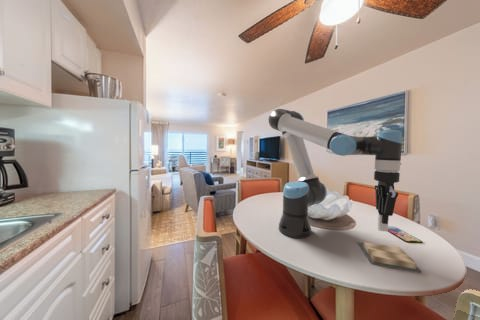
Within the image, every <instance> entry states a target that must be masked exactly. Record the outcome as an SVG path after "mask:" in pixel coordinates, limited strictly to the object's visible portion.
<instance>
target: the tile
mask: <svg viewBox="0 0 480 320" xmlns="http://www.w3.org/2000/svg"><path fill="white" fill-rule="evenodd" d="M363 243H364V246H363V247H364V248H365V250H366V251H367V253H368V254H369V256H370V257H371V259H372V260H373V261H374V262H377V263H383V264H389V265H394V266H400V267H406V268H412V269H416V267H418V264H417V262H416V261H415V260H414V259H413V258H412V257H411V256H410V255H408V254H407V253H406V252H405V250H403V249H402V248H401V247H399V246H393V245H387V244H379V243H372V242H367V241H366V242H365V241H364V242H363Z"/></svg>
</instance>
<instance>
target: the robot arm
mask: <svg viewBox="0 0 480 320" xmlns="http://www.w3.org/2000/svg"><path fill="white" fill-rule="evenodd" d="M268 124H269V126H270V127H271V128H272V129H273V130H276V131H279V132H281V134H282V137H283V138H285V139H286V141H287V145H288V149H289V151H290V156H291V159H292V163H293V166H294V168H295V172H296V176H297V180H296V181H290V182H289V181H288V182H287V183H285V184H284V186H283V191H282V198H283V199H282V215H281V218H280V220H279V223H278V231H279V232H280V233H281V234H283V235H285V236H288V237H290V238H296V239H304V238H308V237H310V236H311V234H312V226H311V224H310V220H309V207H312V206H314V205H318V204H320V203H322V202H323V201H324V200H326V198H327V195H328V194H327V193H328V191H327V188H326V186H325V184H324V183H322V182H321V181H320V179H319V176H318V175H316V174H315V173H314V169H313V166H312V163H311V159H310V157H309V154H308V153H309V152H308V151H307V147H306V144H305V140H306V141H308V142H311V143H313V144H316V145H318V146H321V147H324V148H325V149H328V150H330V151H331V152H332V153H333V154H334V155H337V156H343V157H344V156H353V155H354V156H356V155H357V156H358V155H359V156H366V155H367V156H375V158H374V172H373V173H374V174H373V180H374V181H377V182H378V183H377V185H374V190H375V209H376V210H377V212H378V217H377V219H378V220H377V230H378V231H380V232H386V233H387V232H388V227H389V217H392V216H393V215H394V209H395V206H396V202H397V198H398V196H399V192H396V191H395V183H399V182H400V177H401V176H400V175H401V173H400V170H401V166H402V162H401V159H402V158H401V157H402V148H403V147H402V146H403V132H402V131H400V130H397V129H395V130H394V129H387V130H379V131H377V132H376V135H374V136H355V135H354V136H353V135H349V134H345V133H343V132H339V131H336V130H333V129H330V128H327V127H324V126H322V125H321V126H320V125H317V124H314V123H312V122H309V121H307V120H306V121H305V119H304V116H303V115H302V114H301V113H300V112H298V111H295V110H289V109H284V108H276V109H274V110H272V111H271V112H270V113H269V116H268ZM388 233H389V232H388Z"/></svg>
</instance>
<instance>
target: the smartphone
mask: <svg viewBox="0 0 480 320" xmlns="http://www.w3.org/2000/svg"><path fill="white" fill-rule="evenodd" d="M388 233H390V234H391V235H393V236H395V237H396V238H398V239H399V240H401V241H403V242H405V243H406V244H407V243H408V244H423V240H421V239H419V238H418V237H415V236H413V235H412V234H410V233H408V232H406V231H404V230H402V229H400V228H398V227H396V226H388Z"/></svg>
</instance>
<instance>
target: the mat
mask: <svg viewBox="0 0 480 320" xmlns="http://www.w3.org/2000/svg"><path fill="white" fill-rule="evenodd" d="M357 244H358V246H359V247H360V249H361V251H362V252H363V253H364V256H366V258H367V260H368V261H369V262H370V265H371V264H372V265H377V266H382V267H387V268H388V267H389V268H393V269H400V270H405V271H412V272H418V273H422V270H421V269H420V268H419V267H418V266H417V267H416V269H412V268H406V267H400V266H394V265H389V264H383V263H377V262H374V261H373V260H372V259H371V257H370V256H369V254H368V253H367V251H366V250H365V248H364V247H363V246H364V242H363V241H361V242H360V241H358V242H357Z"/></svg>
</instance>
